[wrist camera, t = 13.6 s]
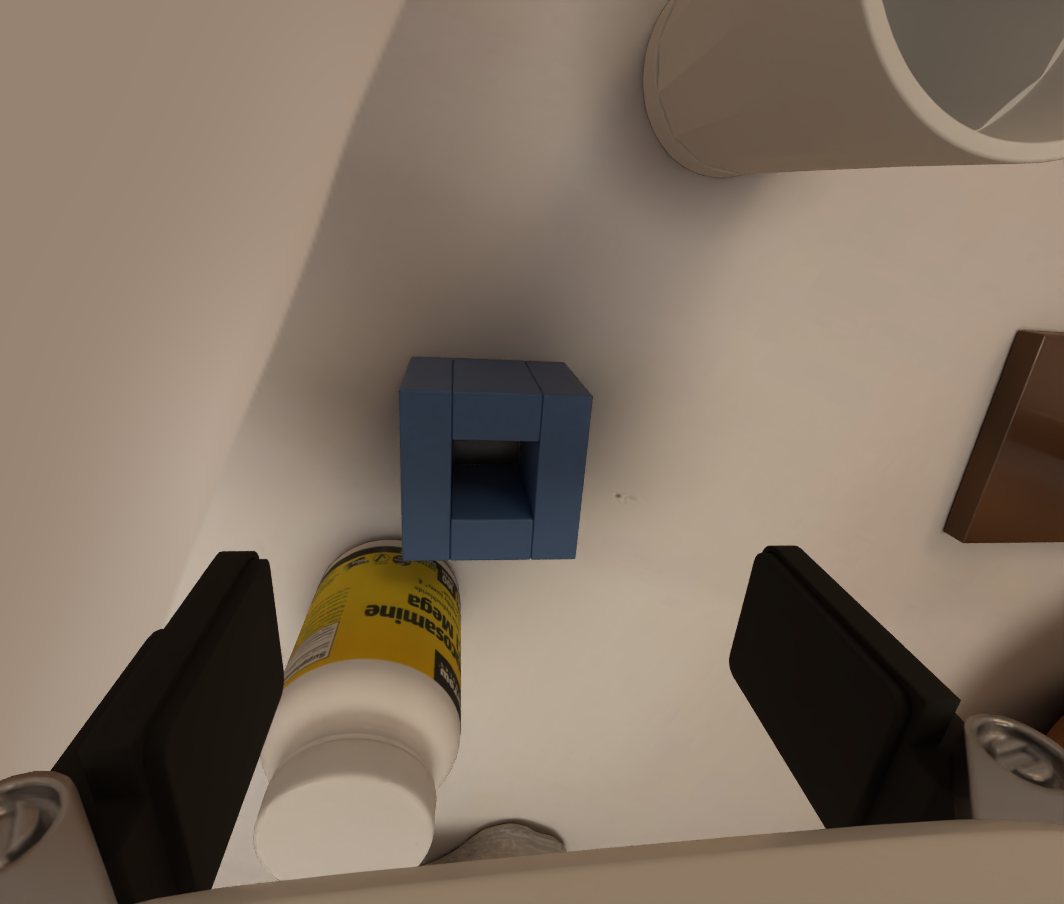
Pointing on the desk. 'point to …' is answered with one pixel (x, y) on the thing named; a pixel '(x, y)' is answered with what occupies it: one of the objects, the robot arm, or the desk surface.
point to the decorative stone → (503, 844)
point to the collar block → (492, 489)
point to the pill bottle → (364, 719)
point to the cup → (856, 83)
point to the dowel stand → (1018, 452)
